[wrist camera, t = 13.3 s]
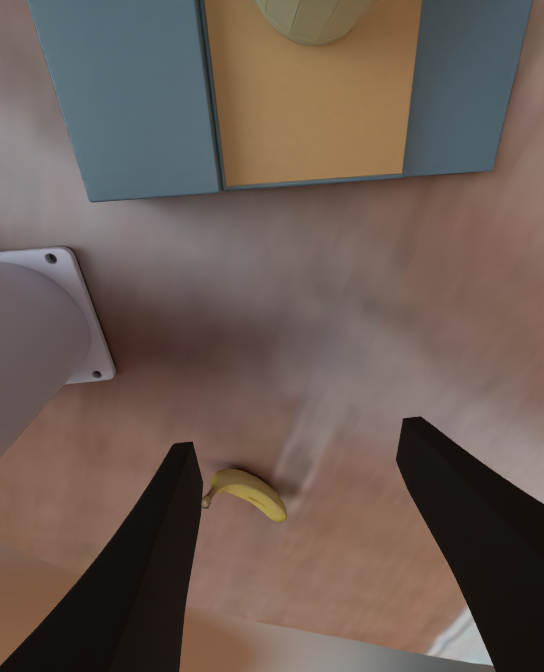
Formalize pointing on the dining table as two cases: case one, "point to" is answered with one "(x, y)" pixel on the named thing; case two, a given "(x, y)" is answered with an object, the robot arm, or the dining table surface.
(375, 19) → the step shelf
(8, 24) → the dining table surface
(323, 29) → the cup
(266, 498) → the banana
